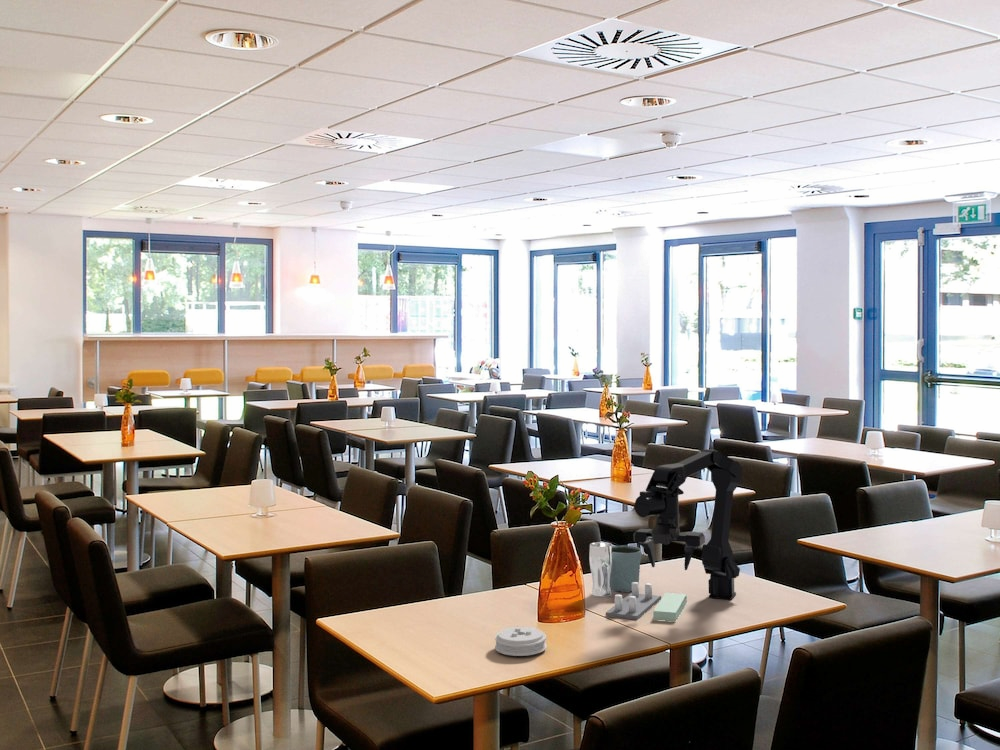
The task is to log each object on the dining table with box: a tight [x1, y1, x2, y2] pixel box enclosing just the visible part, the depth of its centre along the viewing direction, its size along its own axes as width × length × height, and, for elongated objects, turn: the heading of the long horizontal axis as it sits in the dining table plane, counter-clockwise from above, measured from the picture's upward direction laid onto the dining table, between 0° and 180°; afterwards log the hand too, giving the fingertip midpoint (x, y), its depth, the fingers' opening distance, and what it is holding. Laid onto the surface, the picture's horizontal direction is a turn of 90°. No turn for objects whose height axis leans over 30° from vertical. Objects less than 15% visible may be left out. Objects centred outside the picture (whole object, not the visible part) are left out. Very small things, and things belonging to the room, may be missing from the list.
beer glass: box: [588, 541, 613, 598], centre depth 273 cm, size 7×7×15 cm
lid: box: [494, 626, 548, 657], centre depth 227 cm, size 13×13×5 cm
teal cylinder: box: [611, 545, 642, 593], centre depth 279 cm, size 10×10×12 cm
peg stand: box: [605, 582, 662, 621], centre depth 259 cm, size 9×21×5 cm, turn 153°
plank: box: [652, 592, 688, 622], centre depth 255 cm, size 6×18×3 cm, turn 160°
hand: (669, 568), depth 254 cm, fingers open, 9 cm apart
